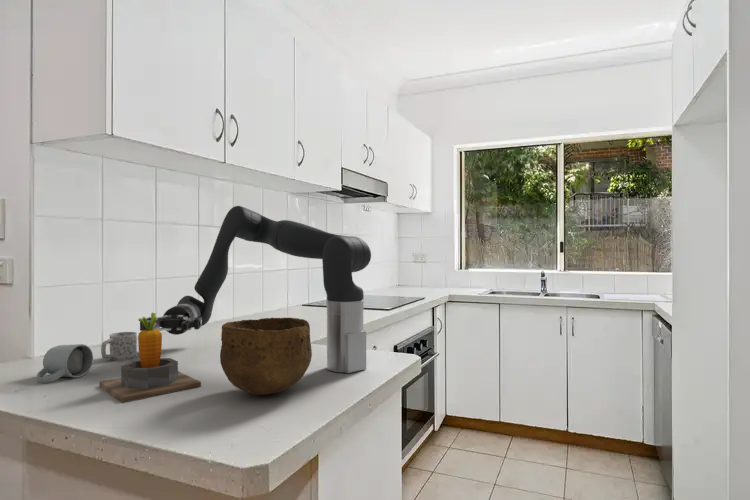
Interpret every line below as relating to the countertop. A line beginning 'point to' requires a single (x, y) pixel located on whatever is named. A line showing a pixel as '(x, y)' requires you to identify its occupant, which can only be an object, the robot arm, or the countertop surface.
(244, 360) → the bowl
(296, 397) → the countertop surface
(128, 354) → the mug
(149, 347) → the carrot
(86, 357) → the ceramic mug
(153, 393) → the ring holder
